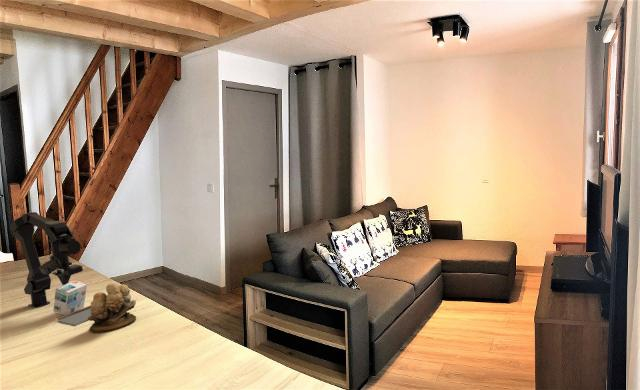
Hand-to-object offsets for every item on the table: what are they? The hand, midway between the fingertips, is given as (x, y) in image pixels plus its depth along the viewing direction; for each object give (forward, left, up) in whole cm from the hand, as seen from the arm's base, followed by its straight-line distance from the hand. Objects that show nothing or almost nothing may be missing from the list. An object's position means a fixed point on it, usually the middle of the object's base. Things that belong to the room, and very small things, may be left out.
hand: (65, 287), depth 191 cm
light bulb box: (+2, -1, -10) cm, 10 cm away
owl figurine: (+34, -3, -10) cm, 35 cm away
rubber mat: (+14, -1, -10) cm, 18 cm away
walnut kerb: (+8, -1, -10) cm, 13 cm away
